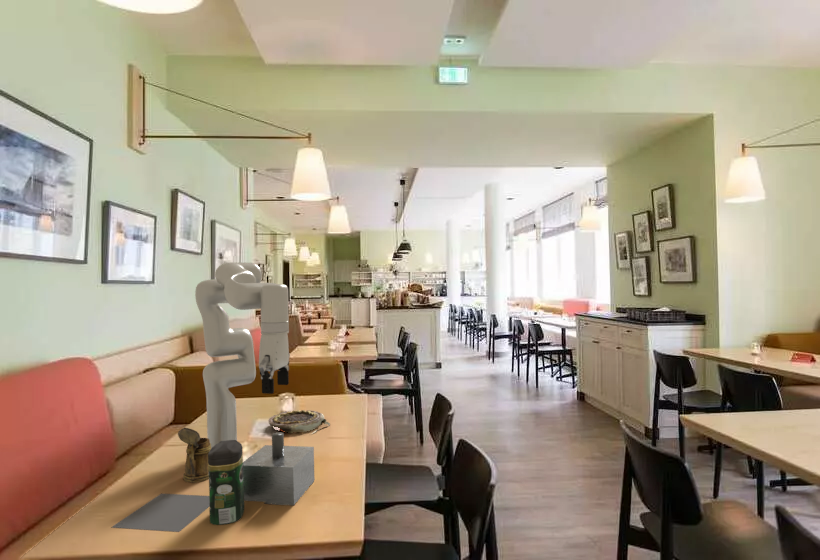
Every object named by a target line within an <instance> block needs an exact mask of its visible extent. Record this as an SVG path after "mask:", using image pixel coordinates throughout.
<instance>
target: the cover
mask: <svg viewBox="0 0 820 560" xmlns="http://www.w3.org/2000/svg"><path fill="white" fill-rule="evenodd" d="M284 437H285V433H284V432H278V431H277V432H274V433H271V445H270V444H265V445H264V446H262V447H261V448H260V449H258V450H257V451H255V452H254V453H253V454H252V455H250V456H249V457H248V458H247V459H245V460H243V486H244V502H245V501H246V502H260V503H261V502H263V505H264V504H265V505H280V506H295V505H296V504H297V503H298V501H299V500H300V499H301V498H302V496H304V494H305V493H306V492H307V491H308V489H309V488H310V487H311V486H312V485H313V483H314V482H315V481H314V480H315V448H314V446H300V445H298V446H297V445H296V446H295V445H285V438H284ZM310 485H311V486H310ZM309 486H310V487H309ZM305 491H306V492H305ZM300 497H301V498H300ZM296 502H297V503H296ZM295 503H296V504H295Z"/></svg>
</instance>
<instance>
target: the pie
mask: <svg viewBox="0 0 820 560" xmlns="http://www.w3.org/2000/svg"><path fill="white" fill-rule="evenodd" d="M322 422H324V423H323V424H324V425H327V427H329V426H330V425H331V423H330V422H329V421H328V419H325V415H324V414H323V413H321V412H318V411H316V410H310V409H309V410H305V409H301V410H298V409H297V410H292V411H290V410H289V411H283V412H280V413H278V414H275V415H273V416H271V417H269V418H268V424H269V426H271V427H272V426H274V427H278V428H280V429H282V430H283V431H285V432H288V433H287V434H294V433H293V432H305V433H307V431H308V432H310V430H311V431H313V432H312V433H311V435H312V434H315V433H317V431H319V430H321V428H319V429H317V428H318V426H321V424H322ZM313 429H314V430H313ZM315 429H316V430H315Z"/></svg>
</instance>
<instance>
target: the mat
mask: <svg viewBox="0 0 820 560" xmlns="http://www.w3.org/2000/svg"><path fill="white" fill-rule="evenodd" d="M208 508H210V499H209V495H198V494H197V495H196V494H181V493H179V494H177V493H163V492H162V493H160V494H158V495H157V496H155V497H154V498H152V499H151V500H149V501H148V502H146V503H145V504H143V505H142V506H140V507H139V508H138V509H136V510H134V511H133V512H131V513H130V514H129V515H127V516H125V517H124V518H122V519H121V520H119V521H118V522H117V523H115V524H113V526H110V528H113V529H128V530H141V531H158V532H172V533H173V532H174V533H181V531H182V530H184V529H185V528H186V527H187V526H189V524H190V523H192V522H194V520H195V519H197V518H199V516H200V515H201V514H203V513H205V511H206V510H207V509H208Z"/></svg>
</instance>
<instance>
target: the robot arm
mask: <svg viewBox="0 0 820 560" xmlns="http://www.w3.org/2000/svg"><path fill="white" fill-rule="evenodd" d="M262 277H263V274H262V271H261V267H260V266H258V265H257V264H256V263H253V262H225V263H222V264H220V265H219V266H218V267H217V268H216V270H215V272H214V278H215V279H205V280H203V281H200V282H199V283H197V285H196V286H195V291H194V293H195V295H194V296H195V297H194V298H195V302H196V305H197V309H198V311H199V313H200V315H201V318H202V326H203V339H204V348H205V352H206V354H207V356H209V357H210V358H211V357H212V358H220V357H221V358H222V357H229V356H237V357H238V358H233V359H224V360H217V361H213V362H209V363H208V364H207V365H205V366H204V368H203V370H202V378H203V384H204V389H205V390H204V391H205V398H206V402H205V403H206V428H207V431H206V432H207V433H206V434H207V437H206V438H208V439H209V440H210V443H211V449H212V447H213V446H215V445H216V444H218V443H219V442H220V441H226V440H236V441H238V429H237V428H238V427H237V422H238V421H237V402H236V397H235V395H234V394H233V393H232V392H231V391H230V390H229V389H230V388H234V387H238V386H244V385H250V384H252V383H253V382H254V381H255V379H256V375H257V370H256V369H257V368H256V358H255V350H254V347H255V346H254V339H253V336H252V334H251V332H250V330H249V329H247V328H245V327H234V328H232V327H231V326H230V320H229V315H228V313H227V311H225V309H224V308H223V307H222V306H221V305H220V304H229V305H230V306H231V307H233V308H234V309H235V310H241V311H247V310H260V339H259V341H260V342H259V351H258V352H259V355H258V369H259V375H260V379H261V393H262V394H265V395H266V394H267V395H273V394H274V392H275V387H274V386H275V380H274V378H273V376H274V373H275V371H277V372H276V373H277V382H276V383H277V385H278V386H288V385H289V384H290V382H289V379H290V378H289V376H290V375H289V374H290V373H289V370H290V357H291V353H290V352H289V351H290V350H289V348H290V346H289V337H288V334H289V333H290V328H289V327H290V326H289V325H290V324H289V323H290V321H289V320H290V319H289V316H290V315H289V310H290V309H289V307H290V306H289V287H288V286H287V285H286V284H282V283H275V282H262Z"/></svg>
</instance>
